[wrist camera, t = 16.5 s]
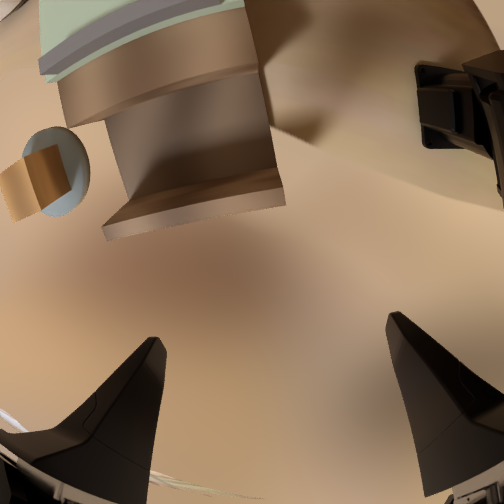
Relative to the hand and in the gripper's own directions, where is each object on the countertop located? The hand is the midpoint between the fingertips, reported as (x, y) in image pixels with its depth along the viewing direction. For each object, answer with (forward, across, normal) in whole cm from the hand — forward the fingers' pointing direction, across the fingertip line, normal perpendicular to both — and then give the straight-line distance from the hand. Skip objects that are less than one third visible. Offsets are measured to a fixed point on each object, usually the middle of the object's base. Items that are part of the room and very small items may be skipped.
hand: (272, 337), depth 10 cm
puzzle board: (+12, +5, -12) cm, 17 cm away
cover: (+7, +5, -17) cm, 19 cm away
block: (+10, +16, -7) cm, 21 cm away
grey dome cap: (+11, +17, -7) cm, 21 cm away
